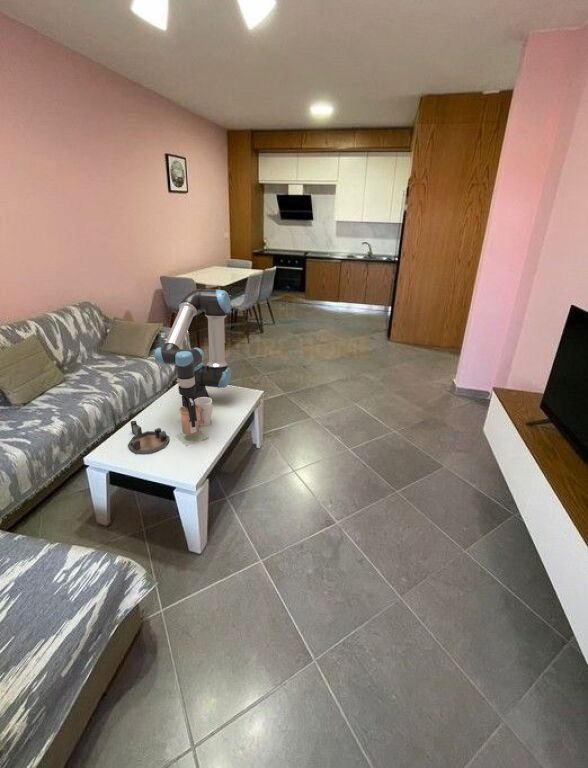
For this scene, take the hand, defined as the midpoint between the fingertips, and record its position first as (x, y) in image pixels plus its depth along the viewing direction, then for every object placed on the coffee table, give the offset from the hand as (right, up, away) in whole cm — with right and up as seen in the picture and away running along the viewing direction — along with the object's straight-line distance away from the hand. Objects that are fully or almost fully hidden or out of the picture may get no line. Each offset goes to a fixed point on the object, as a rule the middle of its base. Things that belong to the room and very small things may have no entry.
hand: (190, 428), depth 175 cm
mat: (0, -5, +2) cm, 5 cm away
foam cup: (+3, +1, +16) cm, 16 cm away
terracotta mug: (+1, -1, +1) cm, 2 cm away
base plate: (-18, -7, -4) cm, 20 cm away
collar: (-21, -5, -2) cm, 22 cm away
